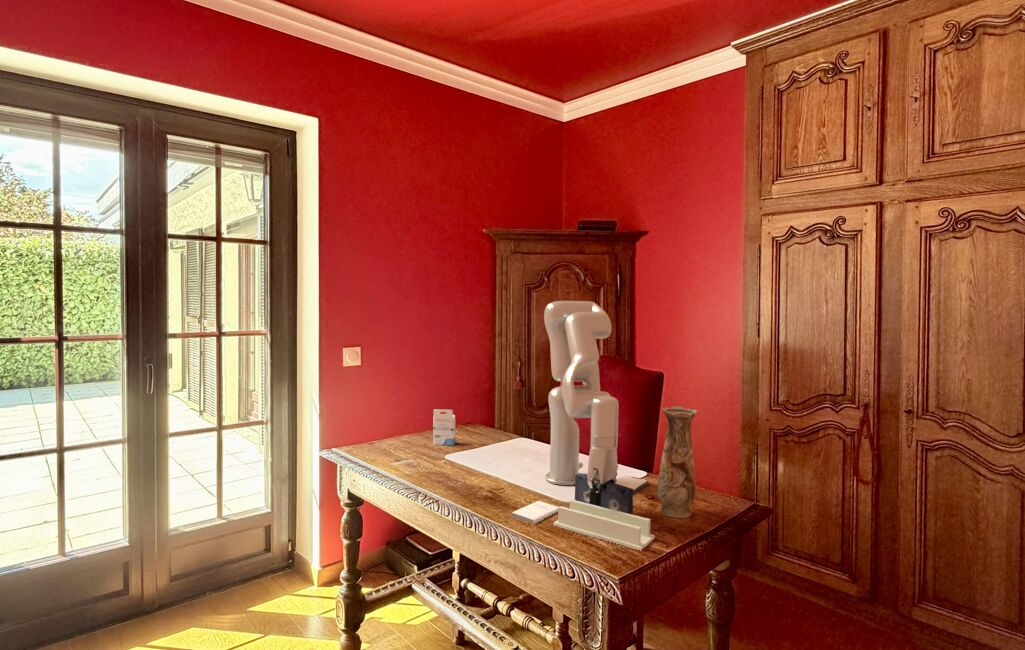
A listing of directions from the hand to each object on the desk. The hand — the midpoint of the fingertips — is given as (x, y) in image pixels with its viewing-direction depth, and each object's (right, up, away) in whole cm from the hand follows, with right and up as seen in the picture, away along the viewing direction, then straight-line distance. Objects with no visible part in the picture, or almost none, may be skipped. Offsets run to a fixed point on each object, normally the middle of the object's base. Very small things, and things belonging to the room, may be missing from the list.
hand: (602, 500), depth 160 cm
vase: (+22, -5, +3) cm, 22 cm away
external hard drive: (-19, -5, +1) cm, 19 cm away
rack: (-2, -5, -11) cm, 12 cm away
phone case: (+12, -4, +24) cm, 27 cm away
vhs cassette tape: (0, -5, 0) cm, 5 cm away
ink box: (-54, 0, +73) cm, 91 cm away
